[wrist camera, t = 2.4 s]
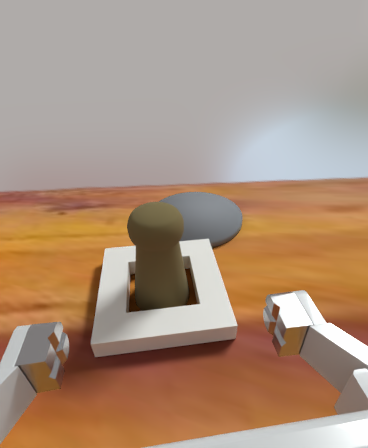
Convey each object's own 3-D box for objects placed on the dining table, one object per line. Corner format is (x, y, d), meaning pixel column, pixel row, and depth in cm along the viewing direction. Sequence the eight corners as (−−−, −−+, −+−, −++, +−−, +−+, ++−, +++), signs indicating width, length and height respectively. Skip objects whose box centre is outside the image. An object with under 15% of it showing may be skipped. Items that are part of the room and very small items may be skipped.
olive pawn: (127, 313, 29) (109, 227, 23) (143, 272, 34) (131, 191, 28) (185, 320, 29) (182, 232, 22) (192, 277, 34) (192, 195, 27)
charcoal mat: (151, 253, 37) (150, 247, 37) (148, 200, 49) (147, 195, 48) (254, 243, 38) (255, 237, 38) (228, 194, 50) (228, 189, 49)
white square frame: (95, 357, 26) (90, 344, 24) (107, 260, 36) (105, 248, 35) (235, 338, 27) (237, 325, 26) (208, 250, 37) (208, 238, 36)
